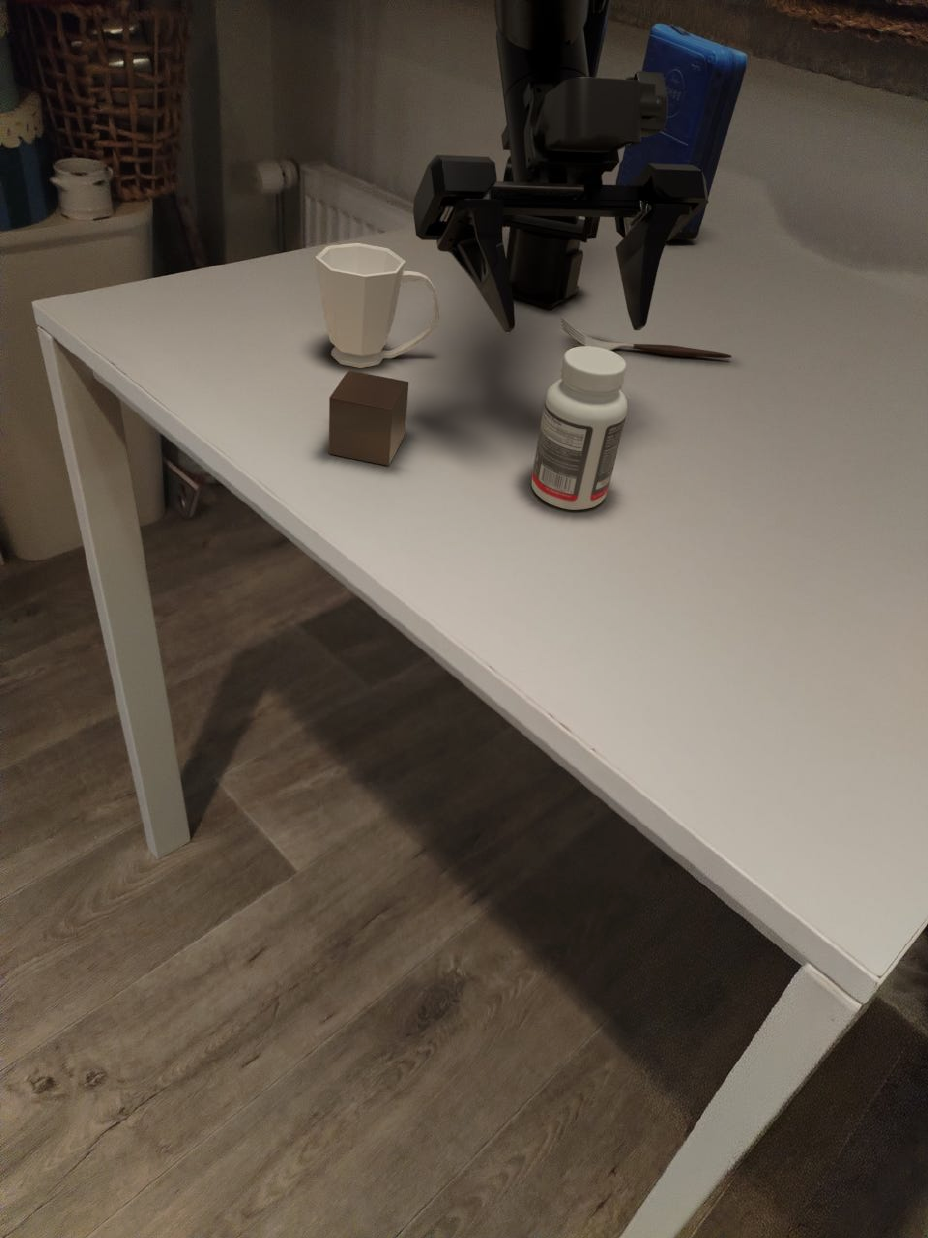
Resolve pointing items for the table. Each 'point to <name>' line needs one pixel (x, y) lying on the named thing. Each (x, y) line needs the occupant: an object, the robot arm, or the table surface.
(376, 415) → the walnut block
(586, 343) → the fork
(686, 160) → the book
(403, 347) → the cup
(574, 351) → the pill bottle
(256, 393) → the table surface
